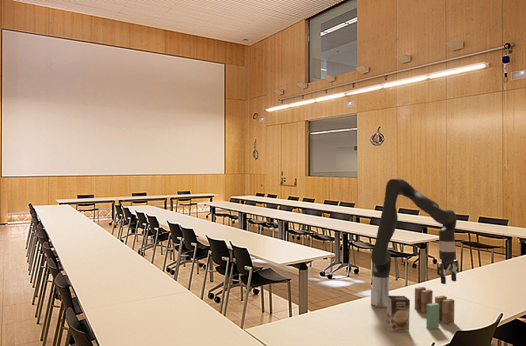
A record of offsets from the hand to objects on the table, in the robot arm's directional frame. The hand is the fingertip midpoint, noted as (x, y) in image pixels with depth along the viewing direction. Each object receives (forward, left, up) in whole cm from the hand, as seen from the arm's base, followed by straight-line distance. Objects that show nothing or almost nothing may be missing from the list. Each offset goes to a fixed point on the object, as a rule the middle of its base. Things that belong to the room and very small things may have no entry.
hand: (448, 282), depth 185 cm
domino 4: (+5, +10, -23) cm, 26 cm away
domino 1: (+5, +25, -23) cm, 35 cm away
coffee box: (-25, +7, -24) cm, 35 cm away
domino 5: (+5, +5, -23) cm, 25 cm away
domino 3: (-7, +3, -23) cm, 25 cm away
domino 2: (+5, +20, -23) cm, 31 cm away
